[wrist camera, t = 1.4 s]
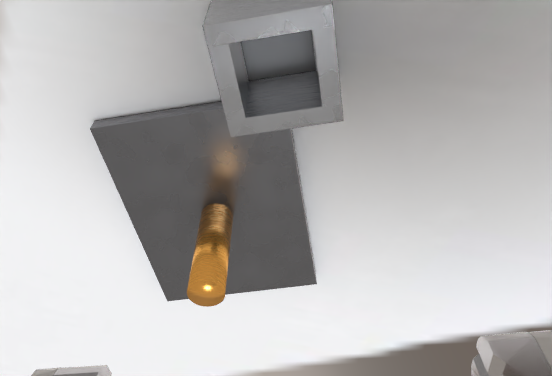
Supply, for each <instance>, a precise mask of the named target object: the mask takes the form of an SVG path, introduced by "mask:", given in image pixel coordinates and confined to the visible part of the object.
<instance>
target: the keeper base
mask: <svg viewBox="0 0 552 376" xmlns="http://www.w3.org/2000/svg"><path fill="white" fill-rule="evenodd" d="M90 130H91V132H92V134H93V136H94V139H95V141H96V143H97V145H98V148H99V150H100V152H101V154H102V156H103V159H104V161H105V163H106V165H107V168H108V170H109V172H110V174H111V176H112V179H113V181H114V183H115V185H116V188H117V190H118V192H119V194H120V197H121V199H122V201H123V203H124V205H125V208H126V210H127V212H128V214H129V217H130V219H131V221H132V223H133V225H134V228H135V230H136V232H137V234H138V237H139V239H140V241H141V243H142V245H143V248H144V250H145V252H146V254H147V257H148V259H149V261H150V263H151V265H152V268H153V270H154V272H155V274H156V277H157V279H158V281H159V283H160V285H161V288H162V290H163V292H164V294H165V297H166V299H167V301H173V300H182V299H190V300H191V301H192V302H193V303H195V304H197V305H200V306H214V305H217V304H219V303H221V302H222V301H223V300H224V297H225V294H234V293H243V292H251V291H260V290H269V289H277V288H286V287H295V286H304V285H312V284H317V282H316V273H315V267H314V261H313V255H312V249H311V243H310V237H309V231H308V225H307V219H306V213H305V207H304V202H303V196H302V190H301V184H300V178H299V172H298V166H297V160H296V154H295V148H294V142H293V136H292V130H291V128H290V129H283V130H277V131H270V132H263V133H256V134H249V135H242V136H235V137H231V136H230V132H229V128H228V124H227V120H226V116H225V112H224V108H223V105H222V101H220V102H214V103H207V104H201V105H194V106H188V107H181V108H175V109H168V110H162V111H155V112H149V113H142V114H136V115H129V116H123V117H116V118H109V119H103V120H96V121H94V123H93V125H92V126H91V128H90Z"/></svg>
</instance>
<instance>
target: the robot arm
mask: <svg viewBox="0 0 552 376" xmlns="http://www.w3.org/2000/svg"><path fill="white" fill-rule="evenodd" d="M476 347H477V349H478V352H479V354H478V355H477V356H476V357H475V358H473V361H472V366H471V373H472V376H552V331H549V330H547V331H537V332H518V333H507V334H496V335H486V336H481V337H480V338H479V339H478V341H477V345H476ZM111 374H112V373H111V372H110V370H109V368H108V366H107V365H100V366H84V367H69V368H51V369H38V370H35V372H34V373H33V374H32V375H31V376H111Z"/></svg>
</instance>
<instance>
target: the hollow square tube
mask: <svg viewBox="0 0 552 376" xmlns="http://www.w3.org/2000/svg"><path fill="white" fill-rule="evenodd" d="M203 30H204V34H205V38H206V42H207V46H208V50H209V54H210V58H211V61H212V65H213V69H214V73H215V77H216V81H217V85H218V89H219V93H220V97H221V101H222V105H223V108H224V112H225V116H226V120H227V124H228V128H229V132H230V136H231V137H235V136H242V135H249V134H256V133H263V132H270V131H277V130H283V129H290V128H297V127H304V126H311V125H318V124H324V123H331V122H338V121H343V111H342V100H341V89H340V79H339V68H338V57H337V47H336V36H335V26H334V15H333V4H332V1H331V0H211V3H210V6H209V9H208V12H207V15H206V18H205V20H204V23H203ZM308 30H311V33H312V41H313V49H314V57H315V65H316V71H312V72H305V73H299V74H292V75H286V76H280V77H273V78H267V79H260V80H254V81H249V79H248V74H247V69H246V65H245V60H244V55H243V51H242V46H241V41H247V40H253V39H259V38H266V37H272V36H278V35H284V34H290V33H296V32H302V31H308Z"/></svg>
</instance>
